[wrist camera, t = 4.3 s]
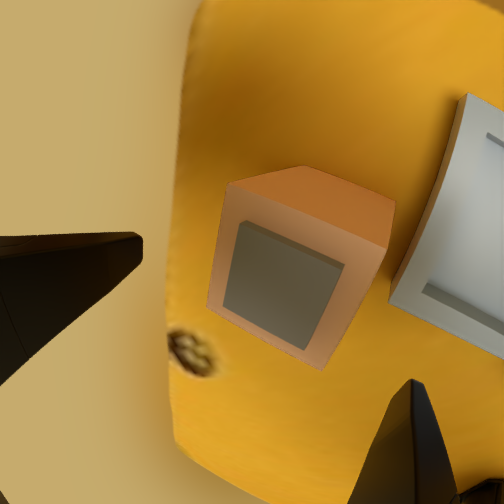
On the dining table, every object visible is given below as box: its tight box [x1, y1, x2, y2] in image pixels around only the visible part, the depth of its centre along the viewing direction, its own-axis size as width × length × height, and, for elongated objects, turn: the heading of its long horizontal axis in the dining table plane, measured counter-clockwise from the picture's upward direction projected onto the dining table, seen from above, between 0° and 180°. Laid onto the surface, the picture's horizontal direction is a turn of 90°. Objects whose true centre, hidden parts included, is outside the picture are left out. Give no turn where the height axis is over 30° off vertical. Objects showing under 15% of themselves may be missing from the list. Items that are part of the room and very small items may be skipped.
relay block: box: [206, 165, 396, 371], centre depth 12 cm, size 5×5×7 cm
